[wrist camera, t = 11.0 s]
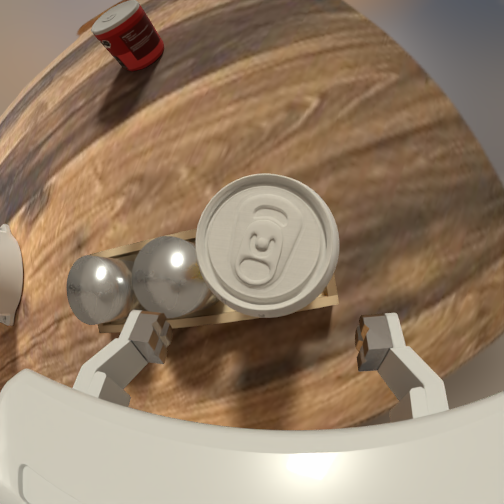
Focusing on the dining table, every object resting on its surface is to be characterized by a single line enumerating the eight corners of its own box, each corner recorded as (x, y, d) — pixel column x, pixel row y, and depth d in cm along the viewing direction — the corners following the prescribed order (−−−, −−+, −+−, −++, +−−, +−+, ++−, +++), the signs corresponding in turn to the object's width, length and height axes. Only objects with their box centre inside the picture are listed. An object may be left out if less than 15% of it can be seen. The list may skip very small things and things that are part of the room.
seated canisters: (114, 318, 27) (71, 325, 20) (107, 265, 28) (64, 261, 21) (233, 304, 25) (210, 313, 18) (223, 241, 26) (197, 228, 19)
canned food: (128, 50, 35) (99, 13, 24) (168, 36, 33) (143, -7, 23) (119, 78, 34) (83, 40, 23) (162, 63, 33) (130, 17, 22)
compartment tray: (117, 329, 29) (99, 333, 26) (107, 257, 30) (89, 254, 27) (333, 300, 26) (338, 303, 22) (317, 213, 27) (319, 204, 23)
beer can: (323, 240, 25) (358, 186, 10) (304, 304, 24) (316, 341, 10) (259, 222, 26) (213, 151, 11) (241, 285, 25) (168, 292, 11)
